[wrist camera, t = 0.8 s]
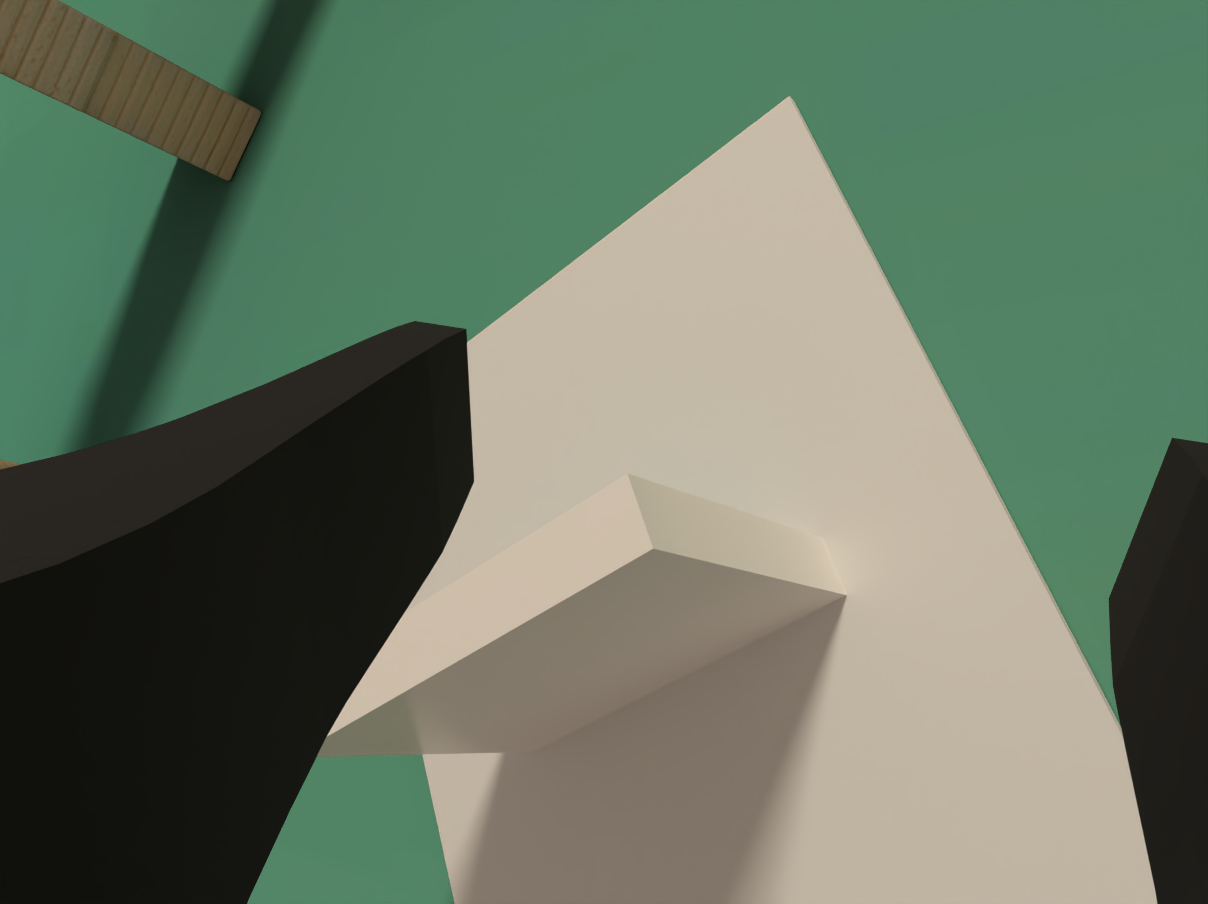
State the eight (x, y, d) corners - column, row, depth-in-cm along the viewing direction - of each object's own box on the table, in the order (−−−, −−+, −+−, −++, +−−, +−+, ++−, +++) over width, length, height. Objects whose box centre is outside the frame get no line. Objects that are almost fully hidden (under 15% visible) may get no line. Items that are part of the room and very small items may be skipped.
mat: (1251, 976, 19) (1249, 980, 18) (520, 1165, 27) (512, 1170, 26) (794, 101, 28) (789, 96, 28) (359, 432, 36) (352, 430, 36)
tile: (846, 595, 24) (653, 548, 18) (532, 751, 29) (290, 757, 23) (819, 529, 25) (623, 463, 19) (516, 692, 30) (278, 681, 23)
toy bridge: (59, 587, 47) (-359, 542, 36) (17, 526, 51) (-375, 468, 40) (483, -338, 42) (152, -722, 31) (404, -334, 46) (81, -676, 35)
